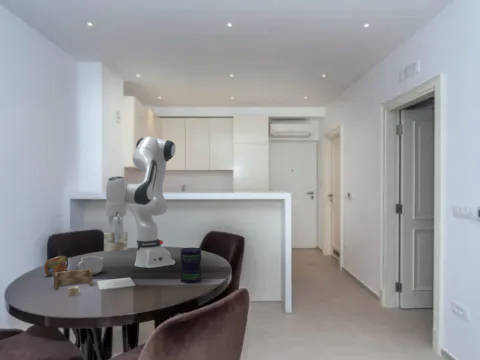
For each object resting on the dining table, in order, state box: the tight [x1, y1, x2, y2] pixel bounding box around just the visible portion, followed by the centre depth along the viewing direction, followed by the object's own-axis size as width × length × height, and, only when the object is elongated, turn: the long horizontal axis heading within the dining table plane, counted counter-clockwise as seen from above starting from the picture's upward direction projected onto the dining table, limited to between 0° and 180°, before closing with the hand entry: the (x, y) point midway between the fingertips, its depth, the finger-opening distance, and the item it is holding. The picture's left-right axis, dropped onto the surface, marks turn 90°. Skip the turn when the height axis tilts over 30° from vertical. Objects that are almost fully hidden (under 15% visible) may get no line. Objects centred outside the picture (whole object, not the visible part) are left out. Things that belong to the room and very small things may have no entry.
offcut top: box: [67, 285, 80, 293], centre depth 152 cm, size 4×3×1 cm
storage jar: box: [179, 247, 202, 284], centre depth 173 cm, size 10×10×15 cm
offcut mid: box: [68, 289, 81, 295], centre depth 152 cm, size 4×3×1 cm
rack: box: [53, 269, 93, 291], centre depth 164 cm, size 16×7×6 cm, turn 116°
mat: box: [96, 277, 136, 291], centre depth 167 cm, size 15×14×1 cm
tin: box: [44, 255, 69, 277], centre depth 186 cm, size 15×3×8 cm, turn 168°
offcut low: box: [67, 292, 81, 297], centre depth 152 cm, size 4×4×1 cm
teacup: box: [77, 255, 104, 276], centre depth 184 cm, size 14×11×8 cm
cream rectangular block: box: [103, 231, 128, 253], centre depth 167 cm, size 10×2×8 cm, turn 116°
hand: (115, 241), depth 167 cm, fingers closed on cream rectangular block, 2 cm apart
